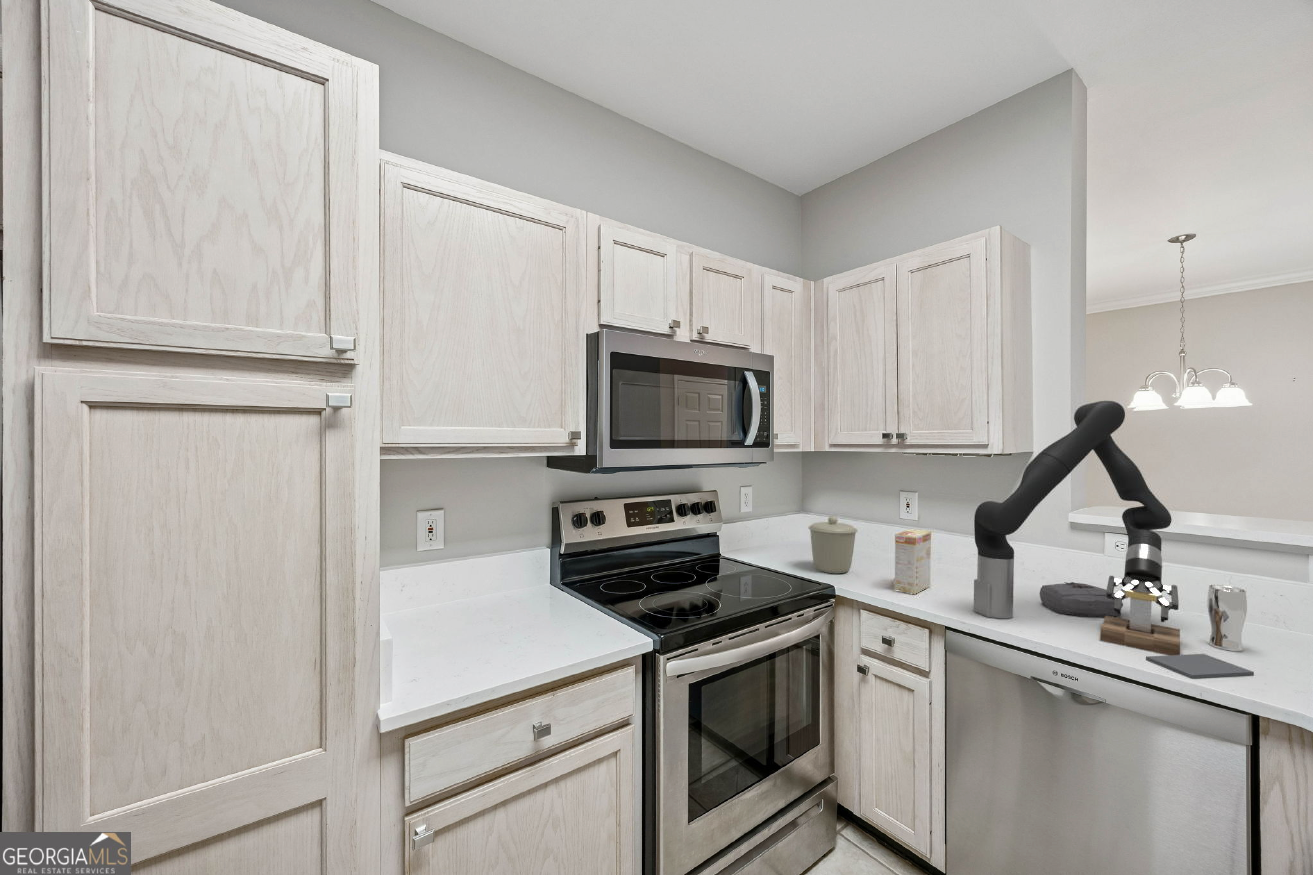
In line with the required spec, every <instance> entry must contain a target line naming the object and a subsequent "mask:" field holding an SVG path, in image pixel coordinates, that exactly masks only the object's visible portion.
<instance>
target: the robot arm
mask: <svg viewBox="0 0 1313 875" xmlns="http://www.w3.org/2000/svg"><path fill="white" fill-rule="evenodd" d="M1125 418H1126V412H1125V408H1124V407H1123V405H1121V404H1120V403H1118V402H1117V401H1113V400H1099V401H1095V402H1090V403H1086V404H1083V405H1081V406H1079V407H1078V408H1077V409H1076V410H1075V412H1074V415H1073V421H1074V424H1075V425H1076V427H1075V428H1074V429H1073V430H1072V431H1071V432H1068V434H1066V435H1065V436H1063V437H1061V438H1059V439H1057V440H1056V441H1054V442H1053V443H1051V444H1049V445H1048V446H1046V447H1045V448H1044V449H1043V450H1042V451H1040V452H1039V453H1038V454H1037V455H1036V456H1035V457H1034V458H1033V459H1031V461H1030V462H1029V463H1028V465H1027V466H1026V468H1025V469H1024V471H1023V474H1022V477H1021V481H1020V483H1019V485H1018V487H1017V488H1016V489H1015V491H1014V492H1013V493H1012V494H1011V495H1010V496H1008V498H1006V499H1005V500H1004V501H1003V502H999V501H998V502H997V501H995V500H994V501H993V500H992V501H990V500H989V501H986V500H985V501H984V502H981V503H980V504H979V505H978V506H977V508H976V510H975V512H974V518H973V519H974V521H973V522H974V523H973V524H974V529H973V530H974V531H973V532H974V542H975V545H976V546H975V547H976V548H977V572H976V574H977V575H976V576H977V577H976V579H974V580H973V611H974V612H975V613H978V614H980V615H982V616H985V617H986V618H994V619H1006V620H1007V619H1012V618H1013V617H1014V587H1015V586H1014V582H1015V581H1014V580H1015V579H1014V578H1015V577H1014V576H1015V550H1014V547H1012V545H1010V543H1009V541H1008V539H1007V536H1009V535H1012V534H1014V533H1016V531H1018V529H1020V528H1021V526H1022V525H1023V524H1024V523H1025V522H1026V520H1027V519H1028V518H1029V516H1030V515H1031V513H1033V511H1034V510H1035V509H1036V507H1038V506H1039V505H1040V504H1041V502H1043V500H1044V499H1045V498H1046V497H1047V496H1049V494H1050V493H1051V492H1052V491H1053V490H1054V489H1056V487H1057V486H1058V485H1060V483H1061V482H1062V481H1063V480H1065V479H1066V478H1067V477H1068V476H1069V475H1070V474H1071V472H1072V471H1073V470H1074V469H1075V468H1076V467H1077V466H1079V464H1080V463H1081V462H1082V461H1083V460H1084V459H1085V458H1086V457H1087V456H1088V455H1089V454H1090V453H1091V452H1092V451H1093V452H1094V454H1095V455H1096V456H1097V458H1098V459H1099V460H1100V462H1101V464H1102V466H1103V467H1104V468H1105V470H1106V472H1107V475H1108V476H1109V479H1110V480H1111V482H1112V484H1113V487H1114V489H1115V491H1116V493H1117V495H1118V497H1119V498H1120V499H1121V500H1122V501H1126V502H1137V503H1140V504H1141V505H1142V506H1141V505H1139V506H1136V507H1135V506H1134V507H1133V506H1132V507H1128V508H1126V509H1125V510H1124V511H1123V512H1122V515H1121V520H1122V522H1123V525H1124V528H1125V530H1126V535H1127V540H1128V541H1127V551H1126V554H1125V561H1124V562H1125V563H1124V576H1123V578H1122V579H1120V578H1115V576H1114V575H1109V577H1108V580H1107V586H1106V594H1107V598H1109V599H1113V600H1114V610H1115V611H1117V614H1119V615H1121V614H1122V609H1121V601H1122V602H1123V601H1124V600H1125V599H1128V598H1129V597H1126V590H1132V591H1138V592H1144V593H1151V594H1157V602H1155V604H1157V605H1158V606H1159V607H1160V622H1161V623H1165V621H1168V620H1169V611H1170V610H1174V611H1178V610H1179V608H1180V607H1179V606H1180V605H1179V604H1180V603H1179V601H1180V600H1179V591H1178V586H1177V585H1176V584H1172V585H1170V586H1169V585H1164V584H1162V583H1163V582H1162V574H1163V573H1162V572H1163V557H1162V537H1161V536H1160V534H1159V533H1157V532H1155V530H1165V529H1167V528H1169V527H1170V526H1171V524H1172V520H1173V519H1172V515H1171V513H1170V511H1169V510H1168V509H1167V508H1166V506H1165V505H1164V504H1163V502H1161V501H1160V500H1159V499H1158V498H1157V497H1156V496H1155V494H1154V493H1153V492H1152V491H1151V489H1150V487H1149V486H1148V485H1147V483H1146V481H1145V480H1146V479H1145V478H1144V476H1143V475H1142V474H1143V473H1142V472H1141V471H1140V469H1139V467H1138V466H1137V465H1136V463H1135V462H1134V461H1133V460H1132V459H1131V458H1130V457H1129V456H1128V455H1127V454H1126V453H1125V452H1124V451H1123V450H1122V449H1121V448H1120V447H1119V446H1118V444H1116V442H1115V441H1114V439H1113V437H1112V434H1113V433H1115V432H1116V431H1118V429H1119V428H1120V427H1121V426H1122V425H1123V423H1124V422H1125ZM1119 585H1122V588H1120V590H1119V591H1117V592H1116V593H1115V592H1114V590H1115V588H1116V587H1118V586H1119ZM1164 591H1165V592H1166V594H1167V595H1169V596H1170V597H1171V598H1170V599H1171V601H1167V600H1166V599H1165V597H1164V596H1163V595H1162V593H1163V592H1164Z"/></svg>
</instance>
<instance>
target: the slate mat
mask: <svg viewBox="0 0 1313 875" xmlns="http://www.w3.org/2000/svg"><path fill="white" fill-rule="evenodd" d="M1145 661H1148V662H1151V663H1153V664H1156V665H1157V666H1160V667H1163V668H1165V669H1168V670H1171V671H1172V672H1175V673H1177V674H1180V675H1182V676H1185V677H1187V678H1189V679H1193V680H1195V679H1210V678H1211V679H1212V678H1231V677H1250V676H1252V677H1253V676H1254V675H1255V673H1254V671H1252V670H1249V669H1248V668H1245V667H1241V666H1238V665H1236V664H1233V663H1230V662H1228V661H1225V660H1222V659H1219V658H1217V657H1214V656H1211V655H1208V654H1205V653H1191V654H1180V655H1150V656H1149V655H1148V656H1146V657H1145Z"/></svg>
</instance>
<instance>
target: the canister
mask: <svg viewBox="0 0 1313 875" xmlns="http://www.w3.org/2000/svg"><path fill="white" fill-rule="evenodd" d="M838 520H839V519H838V518H837V517H836V516H834V515H833V516H831V515H830V516H828V518H827V521H818V522H815V523H812V524H811V525H809V526H808V529H809V532H810V543H811V552H812V561H813V565H814V567H815V569H816V570H818V571H820V572H822V573H828V574H845V573H847V572H849V570H850V569H851V568H852V564H853V563H852V562H853V556H854V549H855V540H856V534H857V533H858V530H859V529H857V528H856V527H854V526H853V525H851V524H847V523H844V522H838Z"/></svg>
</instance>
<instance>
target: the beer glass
mask: <svg viewBox="0 0 1313 875" xmlns="http://www.w3.org/2000/svg"><path fill="white" fill-rule="evenodd" d="M1247 601H1248V600H1247V591H1246V589H1242V588H1239V587H1235V586H1230V585H1223V584H1209V585H1208V591H1207V601H1206V602H1207V604H1206V605H1207V613H1208V617H1209V623H1210V629H1211V631H1210V632H1211V633H1210V635H1209V636H1210V637H1209V640H1208V644H1209V645H1210V646H1211V647H1213V648H1216V649H1220V650H1224V651H1229V652H1236V653H1239V652H1243V651H1244V645H1243V640H1242V632H1243V628H1244V624H1245V621H1246V618H1247V612H1248V611H1247V610H1248V602H1247Z"/></svg>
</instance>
